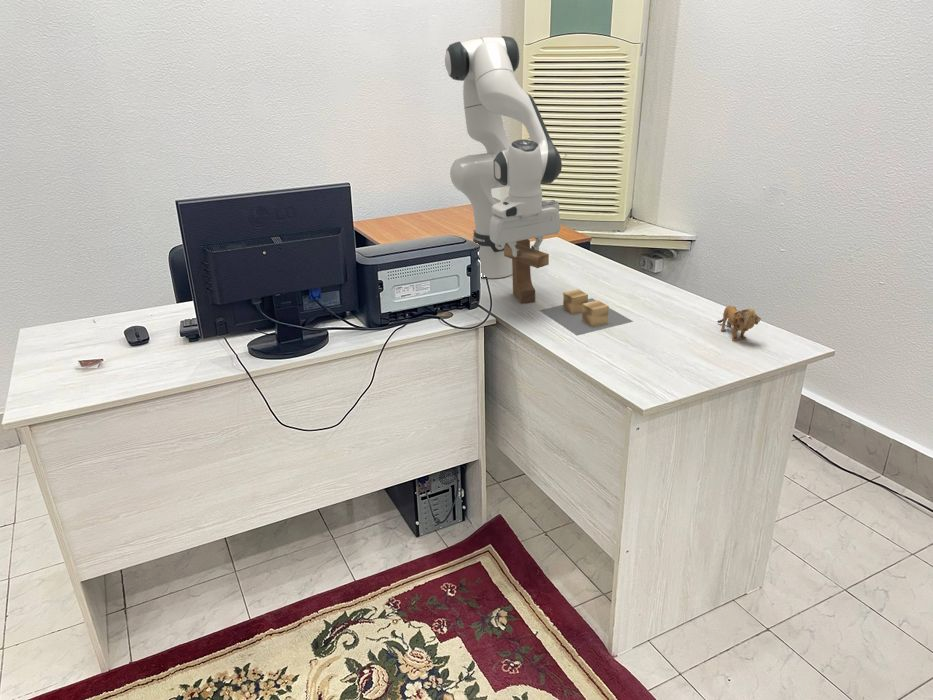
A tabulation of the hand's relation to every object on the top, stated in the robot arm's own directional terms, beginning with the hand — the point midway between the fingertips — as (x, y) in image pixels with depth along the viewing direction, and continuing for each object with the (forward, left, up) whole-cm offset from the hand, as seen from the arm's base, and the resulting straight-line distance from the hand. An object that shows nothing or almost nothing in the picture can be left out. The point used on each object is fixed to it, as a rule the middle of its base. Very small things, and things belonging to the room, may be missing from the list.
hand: (525, 254), depth 186 cm
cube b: (+15, +13, -17) cm, 27 cm away
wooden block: (-11, +5, -18) cm, 22 cm away
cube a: (+5, +13, -17) cm, 22 cm away
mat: (+10, +13, -18) cm, 24 cm away
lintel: (0, 0, -2) cm, 2 cm away
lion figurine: (+40, +39, -18) cm, 59 cm away
